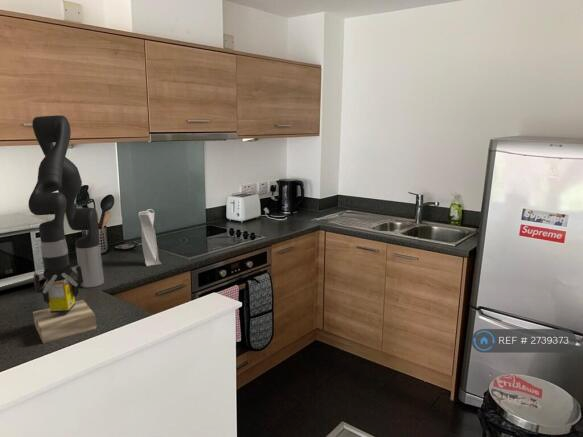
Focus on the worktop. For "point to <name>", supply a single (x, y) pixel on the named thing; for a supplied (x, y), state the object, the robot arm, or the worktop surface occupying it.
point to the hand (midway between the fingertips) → (61, 299)
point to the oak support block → (64, 322)
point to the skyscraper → (149, 238)
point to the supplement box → (61, 296)
